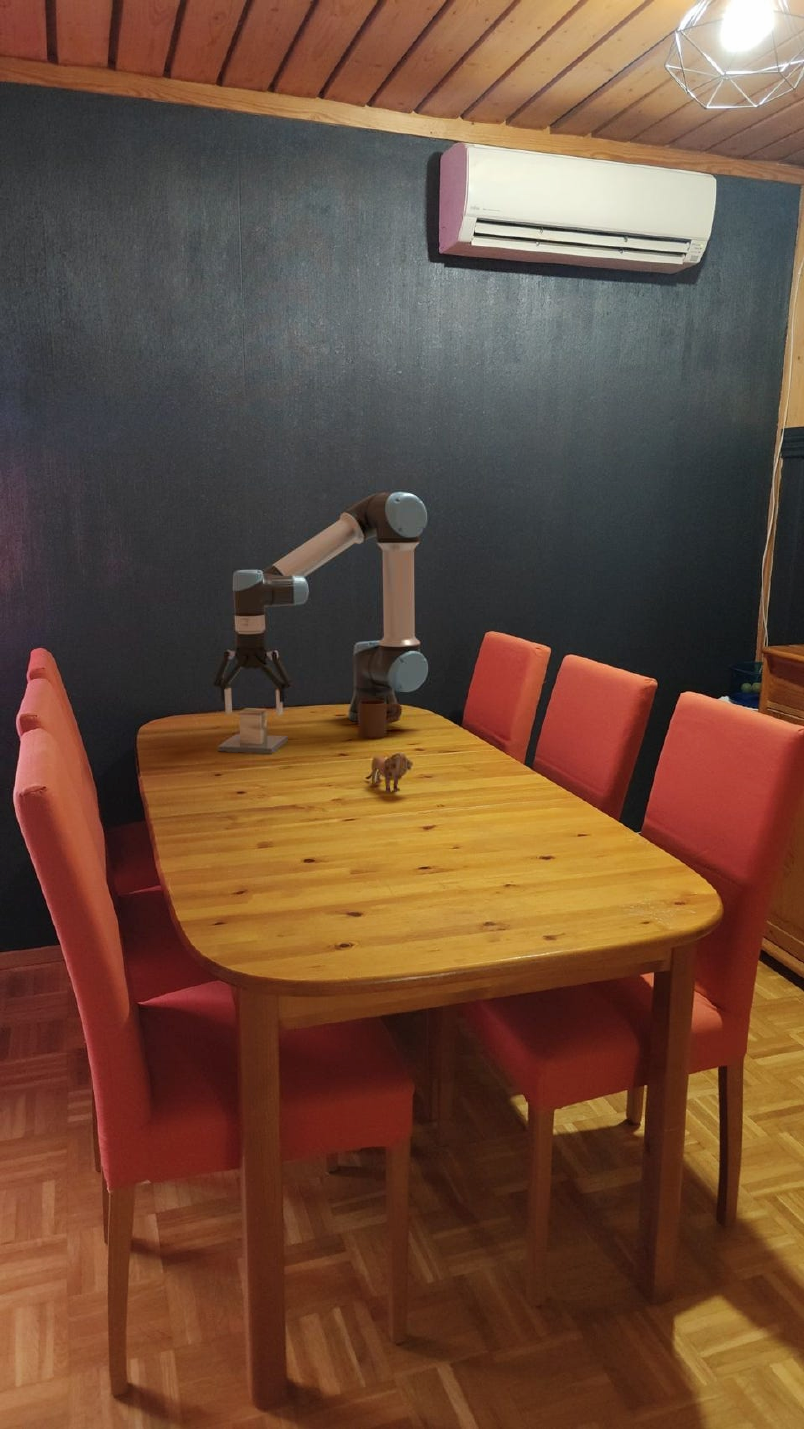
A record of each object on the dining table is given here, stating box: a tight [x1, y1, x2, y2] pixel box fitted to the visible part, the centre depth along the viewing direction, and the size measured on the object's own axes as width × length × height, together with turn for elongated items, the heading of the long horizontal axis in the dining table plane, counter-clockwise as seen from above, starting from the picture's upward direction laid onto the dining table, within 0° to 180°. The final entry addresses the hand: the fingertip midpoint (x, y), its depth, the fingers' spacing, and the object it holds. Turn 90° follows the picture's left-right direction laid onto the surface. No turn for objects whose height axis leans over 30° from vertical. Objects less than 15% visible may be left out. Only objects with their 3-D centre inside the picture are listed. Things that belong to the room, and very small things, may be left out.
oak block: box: [238, 707, 268, 744], centre depth 248 cm, size 6×6×8 cm
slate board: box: [217, 733, 288, 755], centre depth 249 cm, size 14×14×1 cm
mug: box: [357, 700, 403, 740], centre depth 261 cm, size 12×8×9 cm, turn 102°
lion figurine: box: [365, 752, 414, 794], centre depth 211 cm, size 15×5×9 cm, turn 39°
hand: (254, 714), depth 247 cm, fingers open, 13 cm apart
